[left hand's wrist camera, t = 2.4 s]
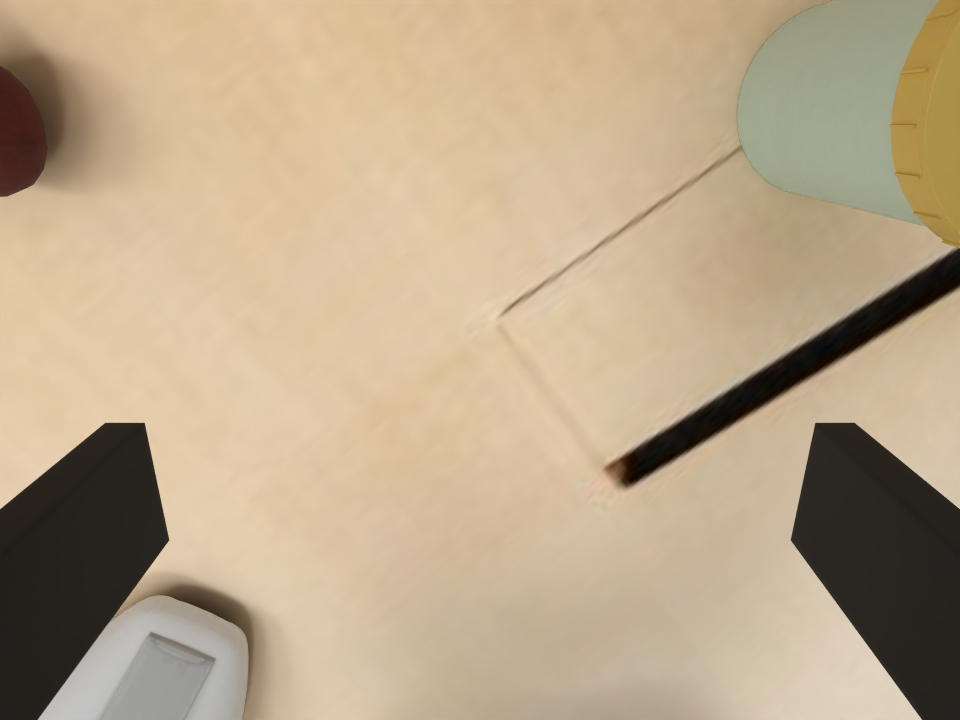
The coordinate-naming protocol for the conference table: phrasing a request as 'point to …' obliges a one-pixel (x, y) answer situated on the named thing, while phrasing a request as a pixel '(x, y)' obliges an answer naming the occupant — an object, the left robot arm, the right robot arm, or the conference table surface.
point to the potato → (19, 137)
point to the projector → (159, 668)
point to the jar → (832, 103)
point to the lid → (931, 123)
